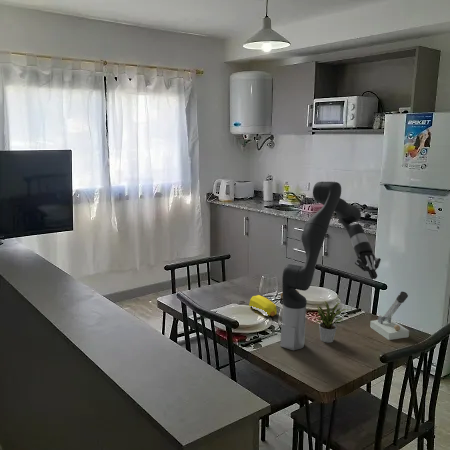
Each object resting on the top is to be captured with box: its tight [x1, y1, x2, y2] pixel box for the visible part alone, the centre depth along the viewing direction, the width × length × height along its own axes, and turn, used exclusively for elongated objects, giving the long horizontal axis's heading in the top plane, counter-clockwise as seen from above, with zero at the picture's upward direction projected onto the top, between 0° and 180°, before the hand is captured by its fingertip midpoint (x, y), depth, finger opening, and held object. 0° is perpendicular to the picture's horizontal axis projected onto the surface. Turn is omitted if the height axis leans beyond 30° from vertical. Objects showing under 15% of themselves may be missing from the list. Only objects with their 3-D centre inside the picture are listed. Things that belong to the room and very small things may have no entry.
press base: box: [369, 315, 410, 341], centre depth 197 cm, size 13×10×6 cm
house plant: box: [315, 300, 349, 343], centre depth 188 cm, size 14×14×16 cm
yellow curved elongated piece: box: [248, 294, 278, 317], centre depth 217 cm, size 18×7×8 cm
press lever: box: [382, 291, 409, 322], centre depth 193 cm, size 3×3×19 cm
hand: (374, 278), depth 204 cm, fingers closed
